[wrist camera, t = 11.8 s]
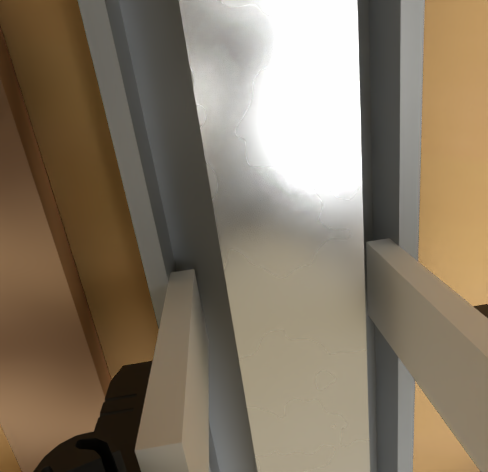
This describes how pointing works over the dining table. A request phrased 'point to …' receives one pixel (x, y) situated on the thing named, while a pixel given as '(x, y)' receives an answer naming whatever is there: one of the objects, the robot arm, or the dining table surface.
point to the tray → (201, 206)
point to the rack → (39, 301)
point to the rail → (289, 218)
